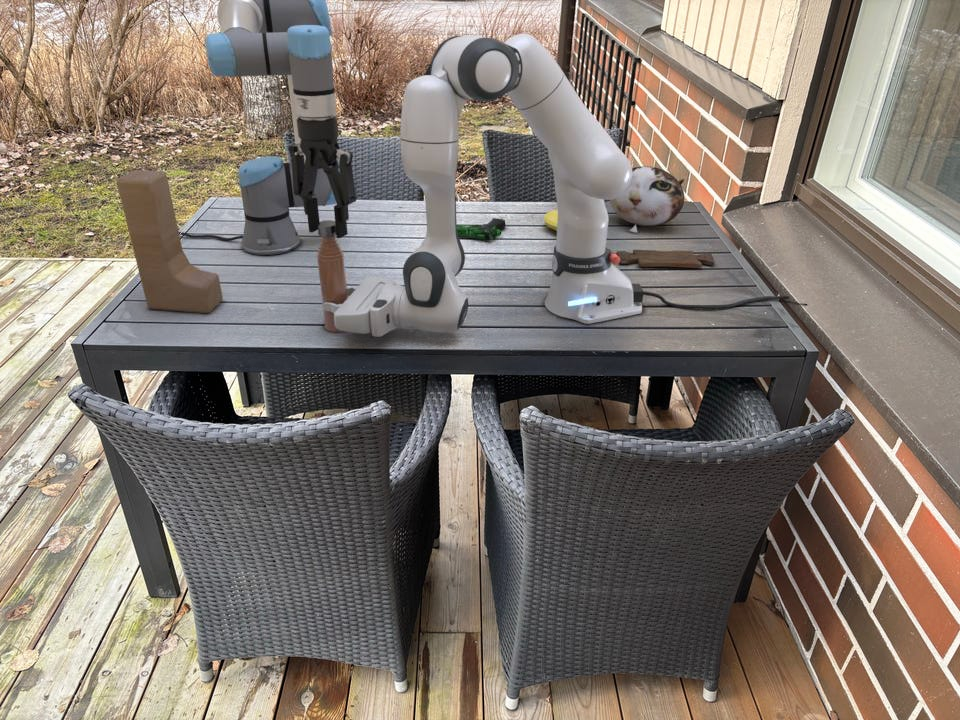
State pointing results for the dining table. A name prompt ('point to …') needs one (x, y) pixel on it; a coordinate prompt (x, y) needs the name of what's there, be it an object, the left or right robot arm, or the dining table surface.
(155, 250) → the decorative block
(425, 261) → the right robot arm
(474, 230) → the handgun
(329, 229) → the cap
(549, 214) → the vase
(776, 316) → the dining table surface
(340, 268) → the bottle
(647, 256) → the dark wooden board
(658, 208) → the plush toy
